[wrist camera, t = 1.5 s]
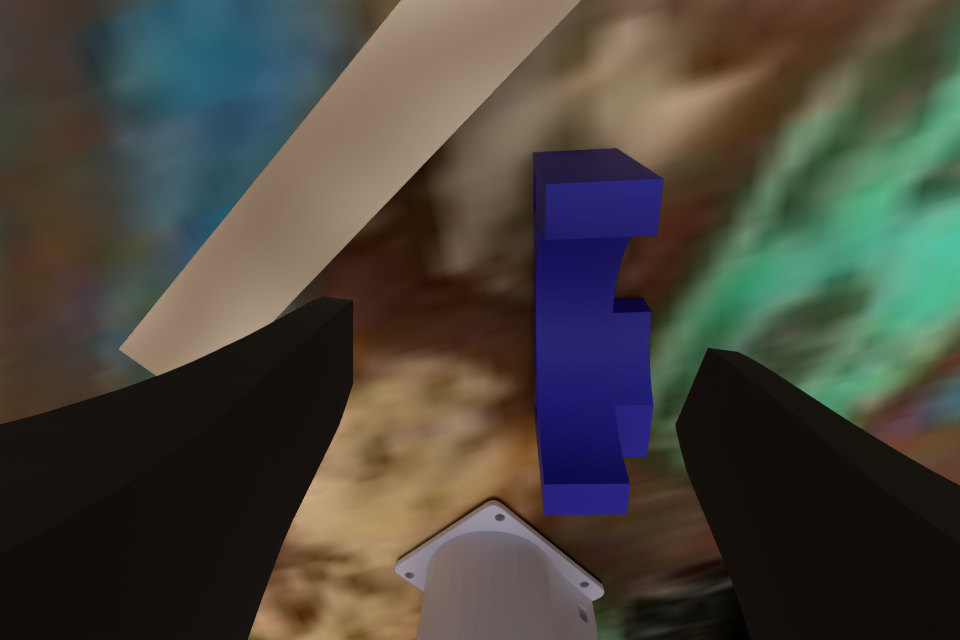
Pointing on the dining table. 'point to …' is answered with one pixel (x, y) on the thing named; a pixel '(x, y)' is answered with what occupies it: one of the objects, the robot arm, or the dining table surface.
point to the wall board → (341, 168)
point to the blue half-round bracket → (589, 327)
